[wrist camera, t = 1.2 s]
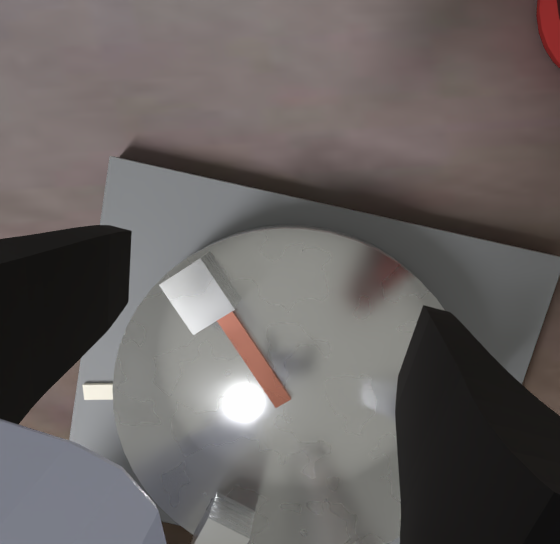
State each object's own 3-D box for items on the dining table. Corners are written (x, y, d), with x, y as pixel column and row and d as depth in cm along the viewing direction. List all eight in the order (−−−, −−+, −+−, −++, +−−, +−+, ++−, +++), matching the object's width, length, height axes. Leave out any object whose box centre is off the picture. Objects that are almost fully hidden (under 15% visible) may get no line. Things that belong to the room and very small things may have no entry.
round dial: (409, 567, 25) (425, 636, 21) (107, 493, 25) (71, 548, 21) (504, 267, 22) (544, 286, 18) (157, 189, 22) (125, 191, 18)
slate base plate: (445, 576, 26) (451, 595, 25) (70, 484, 27) (59, 499, 25) (554, 254, 22) (567, 259, 21) (118, 157, 23) (107, 155, 22)
